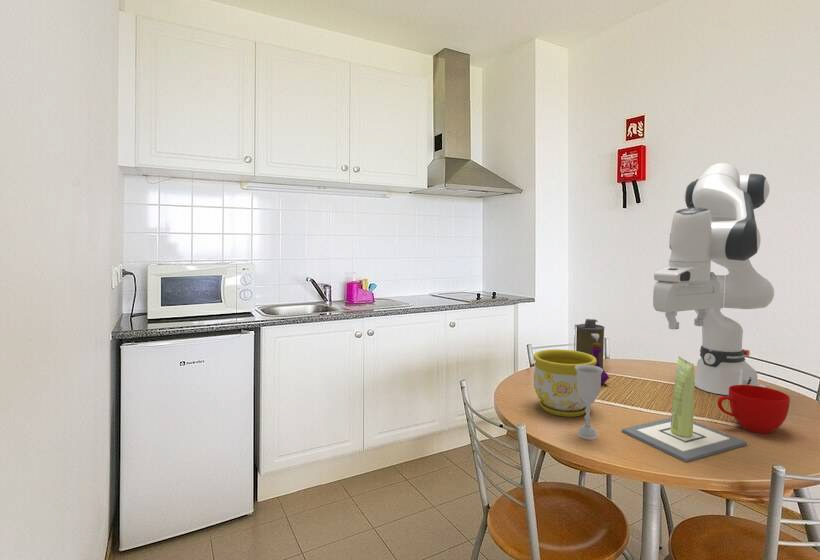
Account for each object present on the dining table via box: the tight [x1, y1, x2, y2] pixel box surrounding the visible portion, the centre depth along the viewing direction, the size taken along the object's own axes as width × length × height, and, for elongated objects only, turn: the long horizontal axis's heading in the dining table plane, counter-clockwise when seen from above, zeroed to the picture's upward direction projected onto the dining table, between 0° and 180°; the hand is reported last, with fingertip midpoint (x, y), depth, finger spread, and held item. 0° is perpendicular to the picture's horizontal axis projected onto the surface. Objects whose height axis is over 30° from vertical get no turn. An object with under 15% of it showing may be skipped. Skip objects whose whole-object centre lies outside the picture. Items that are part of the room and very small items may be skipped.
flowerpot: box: [533, 349, 597, 418], centre depth 134 cm, size 18×18×16 cm
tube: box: [670, 355, 695, 437], centre depth 114 cm, size 6×5×20 cm
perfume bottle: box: [591, 334, 610, 386], centre depth 158 cm, size 8×8×18 cm
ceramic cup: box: [717, 385, 791, 434], centre depth 120 cm, size 13×17×10 cm
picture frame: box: [621, 417, 748, 463], centre depth 115 cm, size 22×18×1 cm
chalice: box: [575, 365, 604, 441], centre depth 116 cm, size 7×7×18 cm
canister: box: [573, 318, 606, 369], centre depth 175 cm, size 11×10×20 cm
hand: (686, 327), depth 112 cm, fingers open, 8 cm apart
